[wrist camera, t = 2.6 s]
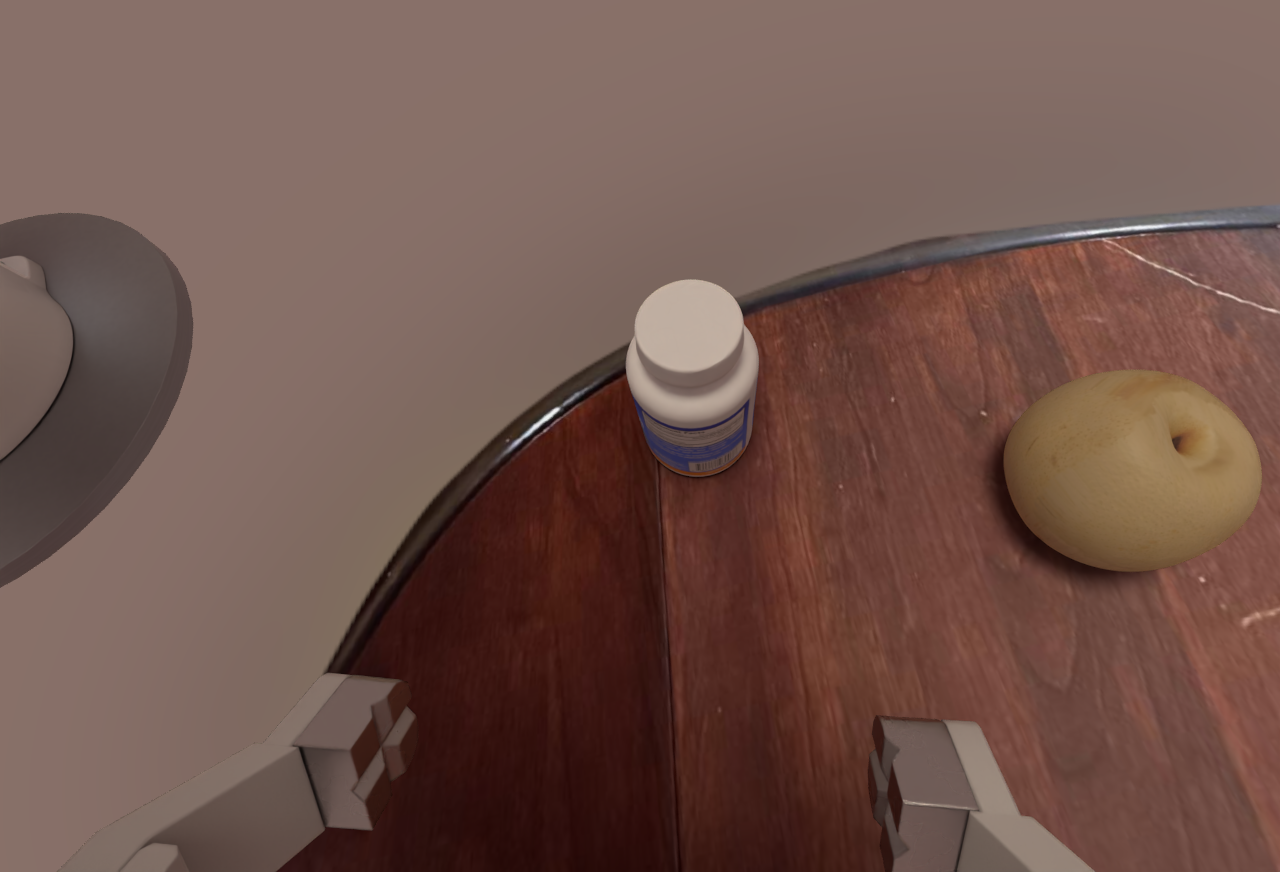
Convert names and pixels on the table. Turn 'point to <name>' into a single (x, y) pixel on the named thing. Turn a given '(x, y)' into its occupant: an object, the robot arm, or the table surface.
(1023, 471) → the apple
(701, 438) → the pill bottle
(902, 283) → the table surface
